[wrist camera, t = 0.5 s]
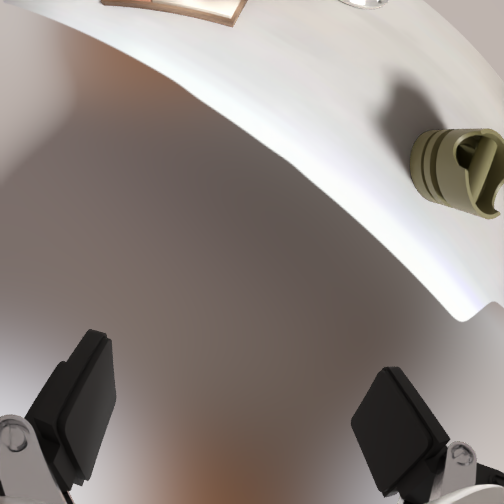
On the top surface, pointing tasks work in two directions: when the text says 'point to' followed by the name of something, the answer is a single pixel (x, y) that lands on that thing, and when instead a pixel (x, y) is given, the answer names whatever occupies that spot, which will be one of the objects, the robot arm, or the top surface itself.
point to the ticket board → (191, 8)
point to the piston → (459, 169)
